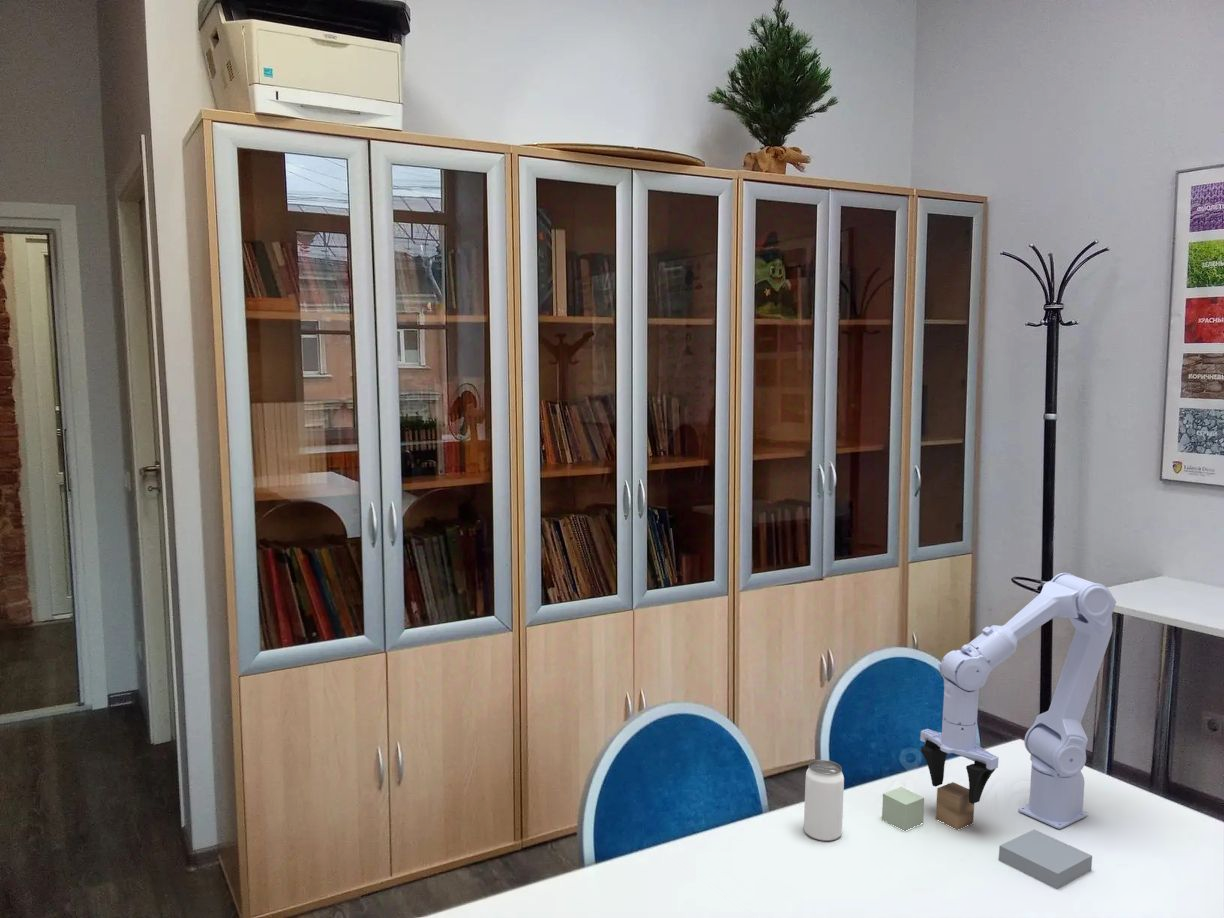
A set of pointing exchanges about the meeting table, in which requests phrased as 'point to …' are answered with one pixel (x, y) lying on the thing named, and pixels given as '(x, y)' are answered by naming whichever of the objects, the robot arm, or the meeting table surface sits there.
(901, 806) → the green cube
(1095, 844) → the meeting table surface
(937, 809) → the walnut block
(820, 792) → the can
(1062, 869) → the grey block
